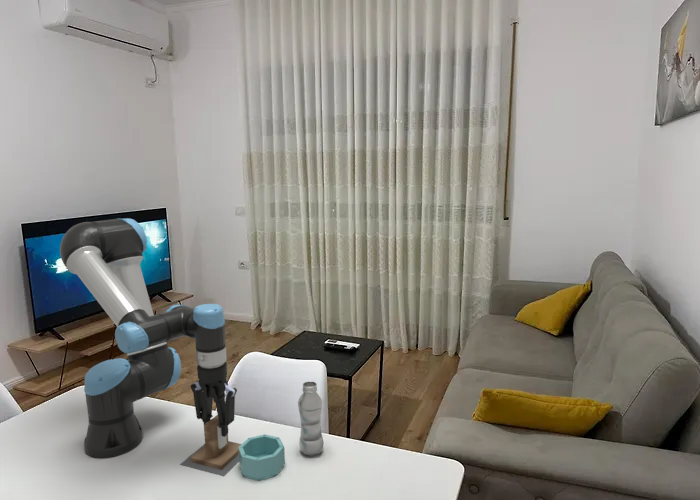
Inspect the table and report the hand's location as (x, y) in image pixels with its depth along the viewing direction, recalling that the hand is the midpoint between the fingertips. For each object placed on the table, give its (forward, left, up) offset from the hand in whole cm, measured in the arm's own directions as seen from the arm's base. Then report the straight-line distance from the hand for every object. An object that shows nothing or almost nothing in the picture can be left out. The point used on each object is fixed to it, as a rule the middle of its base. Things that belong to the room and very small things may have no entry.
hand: (216, 444), depth 135 cm
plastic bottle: (+23, +11, -4) cm, 26 cm away
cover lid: (0, 0, -3) cm, 3 cm away
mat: (0, 0, -4) cm, 4 cm away
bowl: (+14, 0, -4) cm, 15 cm away
